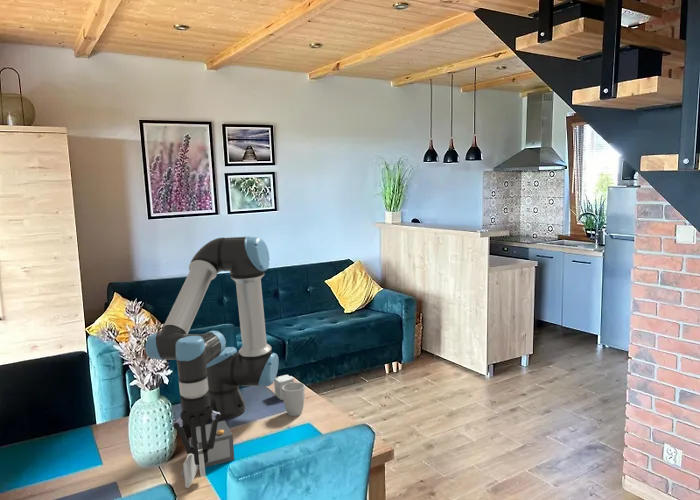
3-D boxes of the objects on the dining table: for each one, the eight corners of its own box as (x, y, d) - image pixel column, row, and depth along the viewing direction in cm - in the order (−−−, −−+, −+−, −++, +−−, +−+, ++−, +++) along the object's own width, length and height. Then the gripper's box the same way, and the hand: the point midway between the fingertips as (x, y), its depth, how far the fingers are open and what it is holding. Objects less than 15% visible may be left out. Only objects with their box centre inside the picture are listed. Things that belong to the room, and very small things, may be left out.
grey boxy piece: (189, 453, 161) (187, 426, 160) (226, 444, 166) (224, 418, 165) (195, 470, 151) (193, 441, 150) (234, 459, 156) (232, 432, 155)
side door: (200, 467, 152) (198, 443, 151) (190, 487, 141) (188, 462, 140) (192, 467, 152) (190, 444, 151) (181, 488, 141) (179, 463, 140)
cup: (309, 409, 190) (308, 383, 188) (300, 419, 182) (298, 391, 181) (289, 407, 192) (287, 381, 191) (279, 416, 185) (277, 389, 184)
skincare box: (295, 396, 202) (294, 378, 201) (280, 400, 199) (279, 382, 198) (288, 391, 207) (287, 374, 207) (274, 395, 204) (273, 377, 204)
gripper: (216, 384, 148) (224, 461, 151) (169, 393, 143) (177, 472, 146) (220, 393, 141) (227, 474, 144) (170, 403, 136) (179, 486, 139)
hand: (202, 473), depth 145 cm, fingers closed
